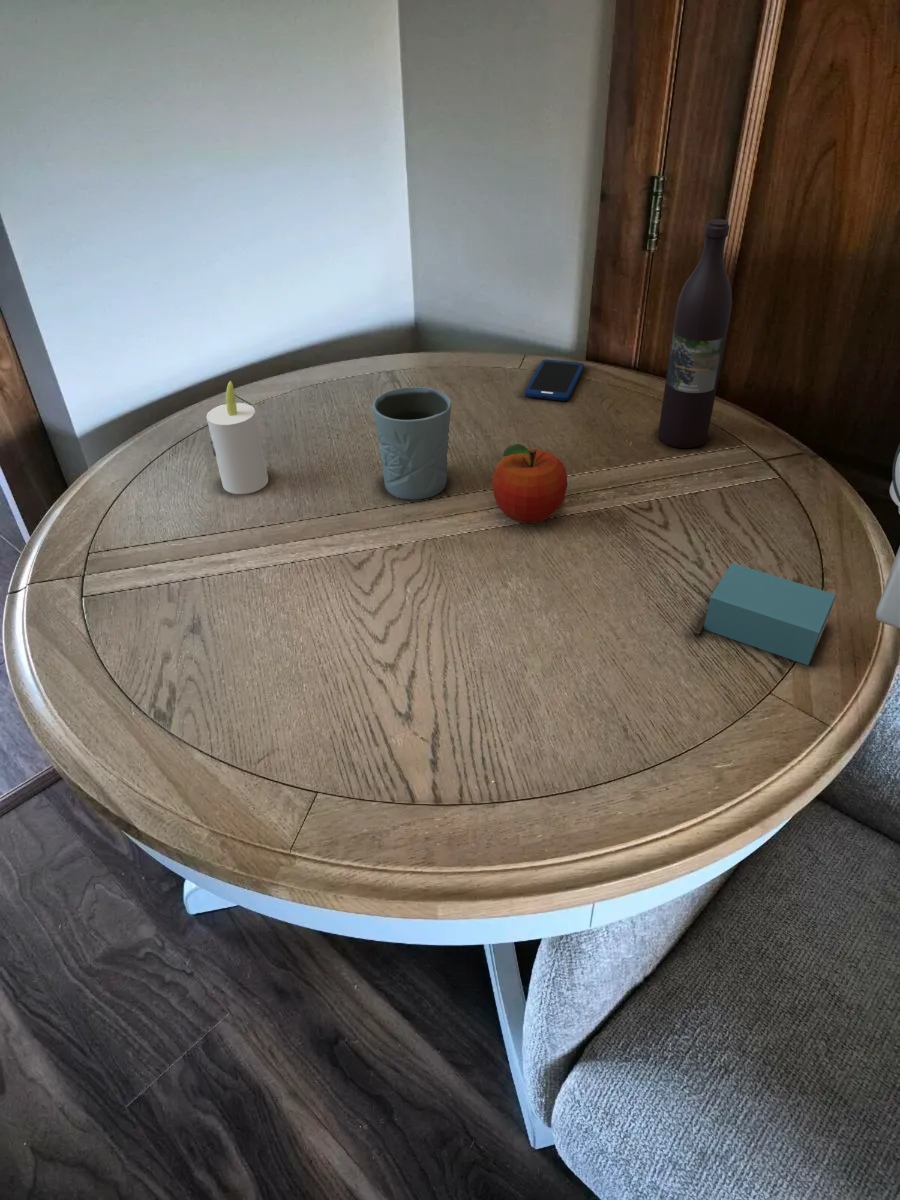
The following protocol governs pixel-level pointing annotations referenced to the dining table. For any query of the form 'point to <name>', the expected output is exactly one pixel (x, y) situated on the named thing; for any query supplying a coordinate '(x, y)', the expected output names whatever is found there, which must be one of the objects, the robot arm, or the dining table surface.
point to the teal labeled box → (769, 612)
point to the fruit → (529, 484)
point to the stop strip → (700, 625)
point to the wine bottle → (697, 345)
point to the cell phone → (554, 380)
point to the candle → (237, 445)
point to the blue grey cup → (413, 440)
